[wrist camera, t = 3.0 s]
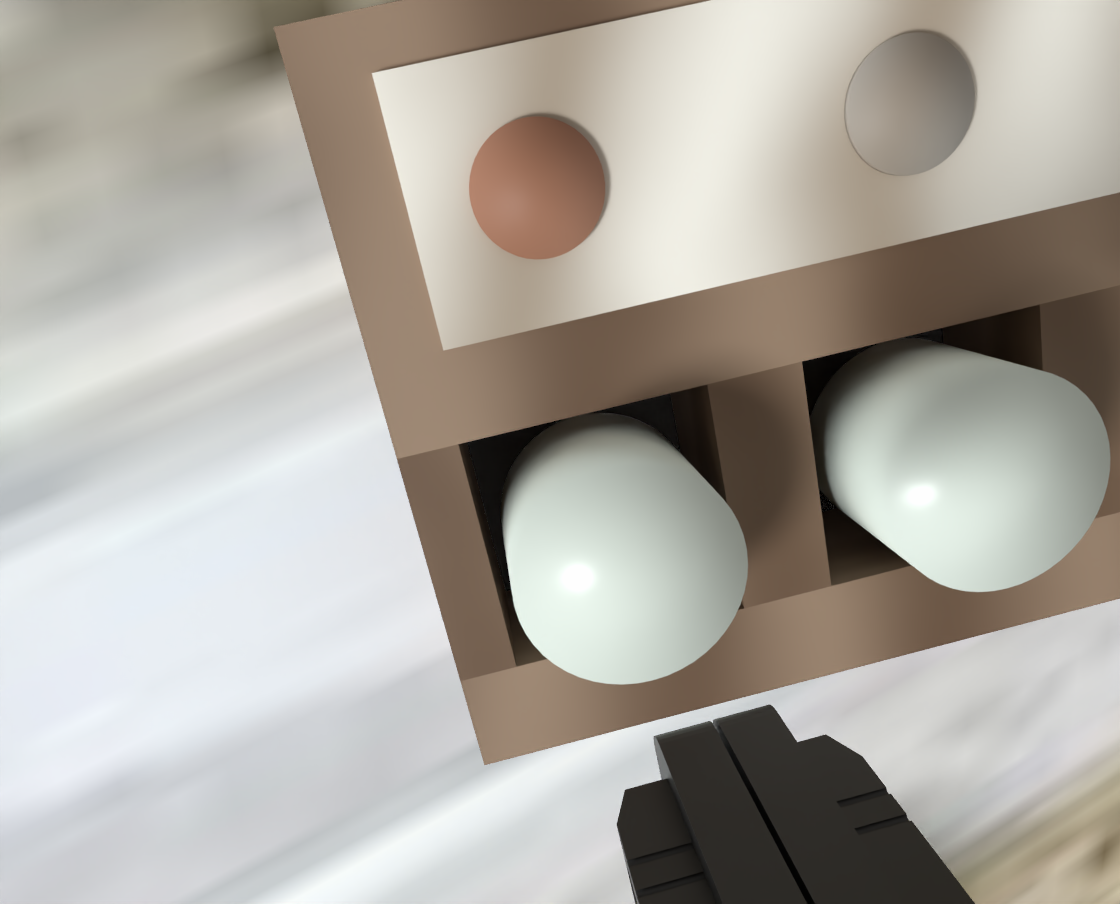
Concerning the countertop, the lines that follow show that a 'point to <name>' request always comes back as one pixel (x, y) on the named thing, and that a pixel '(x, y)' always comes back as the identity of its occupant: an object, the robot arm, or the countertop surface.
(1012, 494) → the button middle
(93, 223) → the countertop surface
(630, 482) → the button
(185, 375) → the countertop surface
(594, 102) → the brown wooden tray
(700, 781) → the robot arm
